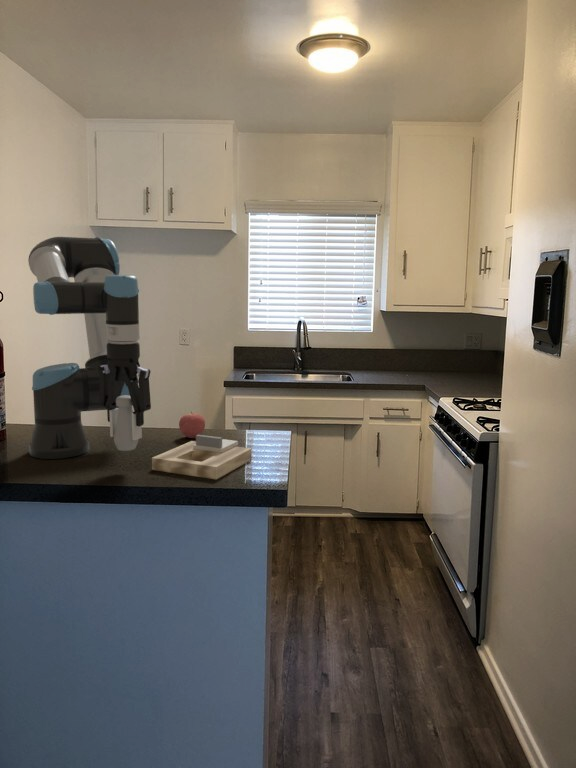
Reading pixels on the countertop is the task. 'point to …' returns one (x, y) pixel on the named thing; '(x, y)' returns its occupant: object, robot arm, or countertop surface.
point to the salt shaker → (124, 424)
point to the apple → (192, 425)
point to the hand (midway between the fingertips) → (126, 436)
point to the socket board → (200, 461)
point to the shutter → (213, 443)
